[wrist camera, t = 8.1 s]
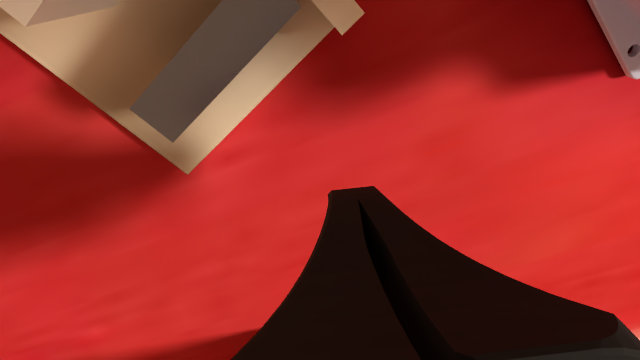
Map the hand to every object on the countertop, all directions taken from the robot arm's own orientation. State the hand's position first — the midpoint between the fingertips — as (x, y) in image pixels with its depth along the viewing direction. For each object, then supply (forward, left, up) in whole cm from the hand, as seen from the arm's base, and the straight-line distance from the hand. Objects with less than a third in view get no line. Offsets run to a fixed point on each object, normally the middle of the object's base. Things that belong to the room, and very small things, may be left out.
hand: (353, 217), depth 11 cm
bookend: (+6, 0, -6) cm, 8 cm away
